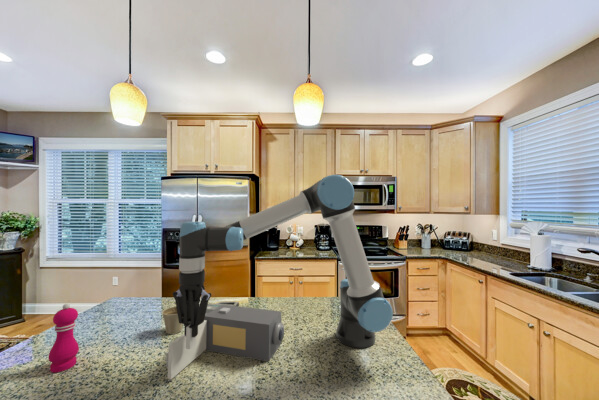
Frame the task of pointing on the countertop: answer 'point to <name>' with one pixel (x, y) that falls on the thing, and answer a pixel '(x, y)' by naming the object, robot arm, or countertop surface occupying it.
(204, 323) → the side door
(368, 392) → the countertop surface
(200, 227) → the robot arm
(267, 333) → the camera body
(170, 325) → the flower pot
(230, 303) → the camcorder
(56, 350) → the pepper mill
